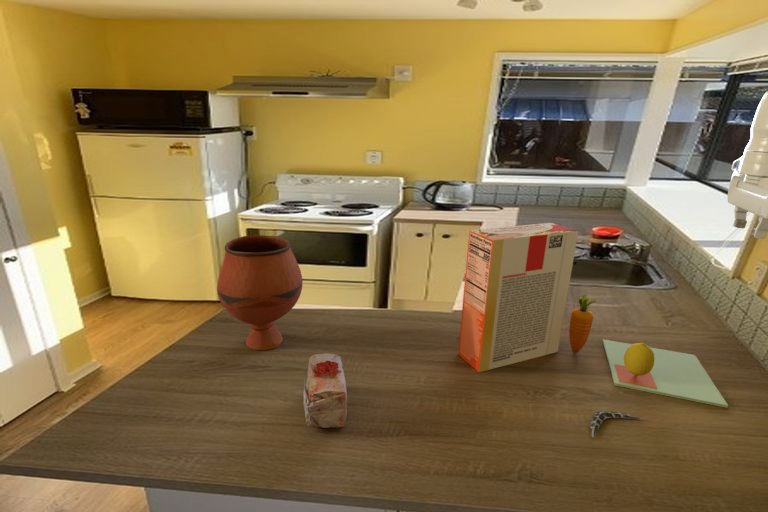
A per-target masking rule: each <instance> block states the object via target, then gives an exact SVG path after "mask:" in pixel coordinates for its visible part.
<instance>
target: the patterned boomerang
mask: <svg viewBox="0 0 768 512" xmlns="http://www.w3.org/2000/svg"><path fill="white" fill-rule="evenodd" d="M612 418H613V419H629V420H630V419H633V420H637V421H638V420H639V421H643V420H644V419H643V417H639V416H634V415H630V414H629V413H624V412H616V411H610V410H600V409H599V410H596V411H595V412H594V415H593V417H592V419H591V422H590V426H589V428H590V429H591V437H592V438H596V434H597V431H599V430H600V427H601V425H602V423H603V422H604V421H605V420H606V419H612Z"/></svg>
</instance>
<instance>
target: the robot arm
mask: <svg viewBox="0 0 768 512" xmlns="http://www.w3.org/2000/svg"><path fill="white" fill-rule="evenodd" d="M750 126H751V127H750V139H749V140H748V141H749V142H748V143H747V145H746V146H745V148H744V151H743V155H742V156H741V157H739V158H737V159H736V160H734V161H733V162H732V165H731V171H732V172H733V173H732V174H731V178H730V182H729V186H728V192H727V196H726V197H727V202H728V204H730V205H732V206H735V207H734V209H733V211H734V212H733V213H734V220H733V224H732V225H733V227H735V228H736V229H745V228H746V226H747V223H748V220H747V215H748V214H747V213H751V214H753V215H756V216H758V219H757V220H758V223H757V225H756V227H754V228H753V230H752V233H751V236H752V237H753V238H755V239H757V240H764V239H766V238H767V235H768V89H767V90H766V91H765V93H764V94H763V95H762V97H761V100H760V101H759V104H758V106H757V108H756V111H755V114H754V117H753V121H752V124H751V125H750Z"/></svg>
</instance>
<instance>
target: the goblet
mask: <svg viewBox="0 0 768 512" xmlns="http://www.w3.org/2000/svg"><path fill="white" fill-rule="evenodd" d="M303 282H304V281H303V276H302V271H301V268H300V265H299V263H298V261H297V259H296V256H295V255H294V252H293V250H292V247H291V242H290V240H288V239H286V238H283V237H280V236H276V235H266V234H265V235H263V234H262V235H260V234H259V235H258V234H252V235H244V236H239V237H236V238H234V239H231V240H229V241H228V242H226V243H225V245H224V258H223V261H222V264H221V268H220V271H219V274H218V278H217V285H216V292H217V297H218V299H219V302H220V304H221V305H222V307H223V308H224V309H225V310H226V311H227V313H229V314H230V315H231V316H232V317H234V318H235V319H236V320H238V321H240V322H242V323H245V324H249V328H251V332H250V333H249V334H248V336H247V338H246V341H245V344H246V346H247V347H248V348H249V349H252V350H255V351H269V350H272V349H276V348H277V347H279V346H280V345H281V344H282V342H283V340H284V339H283V335H282V333H281V332H280V331H279V330H278V329H277V328H276V327H275V326H274V325H275V323H276V321H277V320H280V319H281V318H282V317H285V316H286V315H287V314H288V313H290V311H291V310H292V309H293V308H294V307H295V305H296V304H297V302H298V301H299V299H300V297H301V294H302V290H303Z"/></svg>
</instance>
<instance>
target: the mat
mask: <svg viewBox="0 0 768 512" xmlns="http://www.w3.org/2000/svg"><path fill="white" fill-rule="evenodd" d="M601 342H602V345H603V349H604V352H605V356H606V360H607V364H608V367H609V370H610V375H611V378H612V381H613V384H614V386H616V387H622V388H627V389H631V390H634V391H635V390H636V391H641V392H646V393H652V394H655V395H661V396H667V397H670V398H675V399H682V400H686V401H691V402H695V403H701V404H705V405H711V406H716V407H721V408H725V409H728V407H729V404H728V403H727V401H726V400H725V398H724V396H723V395H722V394H721V392H720V391H719V389H718V388H717V385H716V384H715V383H714V381H713V380H712V379H711V377H710V376H709V374H708V372H707V371H706V369H705V368H704V366H703V365H702V363H701V362H700V360H699V358H698V357H697V356H696V354H693V353H691V354H690V353H686V352H680V351H674V350H668V349H661V348H656V347H652V346H649V347H650V348H651V349H652V351H653V353H654V366H653V368H652V370H651V371H650V372H649V373H648V374H646V375H642V376H639V375H638V376H634V375H633V374H632V373H631V372H629V371H628V370H627V368H626V367H625V364H624V355H625V352H626V350H627V349H628V347H629V346H631V345H632V344H633V343H627V342H623V341H622V342H621V341H615V340H611V339H610V340H609V339H604V338H603V339H602V340H601Z"/></svg>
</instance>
